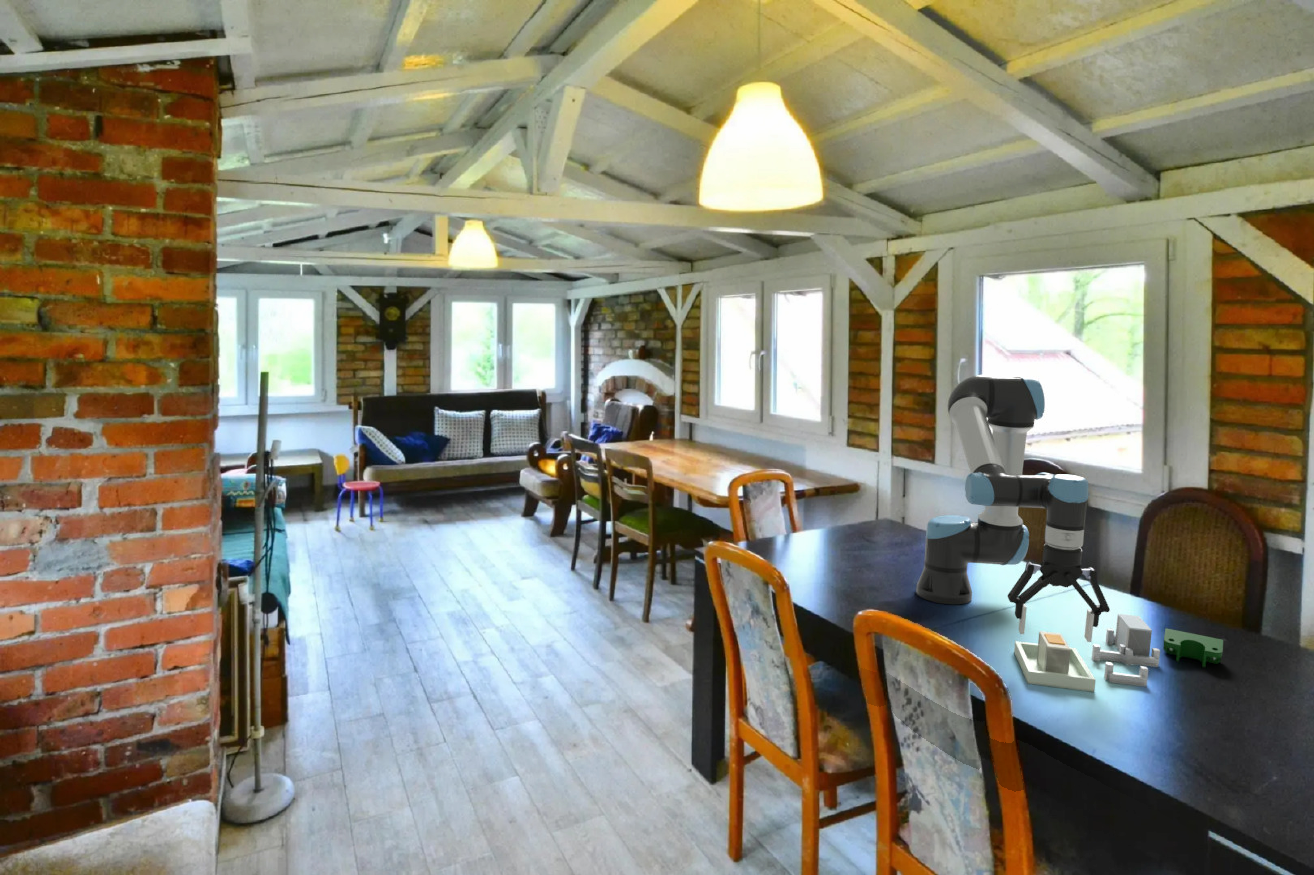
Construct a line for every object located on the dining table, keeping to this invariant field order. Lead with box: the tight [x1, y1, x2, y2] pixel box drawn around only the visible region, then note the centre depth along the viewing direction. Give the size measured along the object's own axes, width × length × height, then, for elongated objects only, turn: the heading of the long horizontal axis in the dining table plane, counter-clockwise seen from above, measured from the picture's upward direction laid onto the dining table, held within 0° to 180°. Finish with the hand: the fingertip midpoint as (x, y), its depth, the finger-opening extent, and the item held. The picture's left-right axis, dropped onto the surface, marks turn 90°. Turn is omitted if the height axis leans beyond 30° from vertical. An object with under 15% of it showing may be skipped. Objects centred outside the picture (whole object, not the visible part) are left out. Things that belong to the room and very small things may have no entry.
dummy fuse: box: [1114, 613, 1153, 656], centre depth 179 cm, size 5×9×8 cm, turn 164°
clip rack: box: [1091, 628, 1161, 688], centre depth 175 cm, size 14×26×4 cm, turn 164°
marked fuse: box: [1037, 630, 1071, 674], centre depth 170 cm, size 5×9×7 cm, turn 164°
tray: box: [1013, 640, 1096, 693], centre depth 170 cm, size 13×17×3 cm
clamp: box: [1163, 627, 1224, 668], centre depth 176 cm, size 12×6×9 cm, turn 46°
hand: (1054, 635), depth 169 cm, fingers open, 13 cm apart
